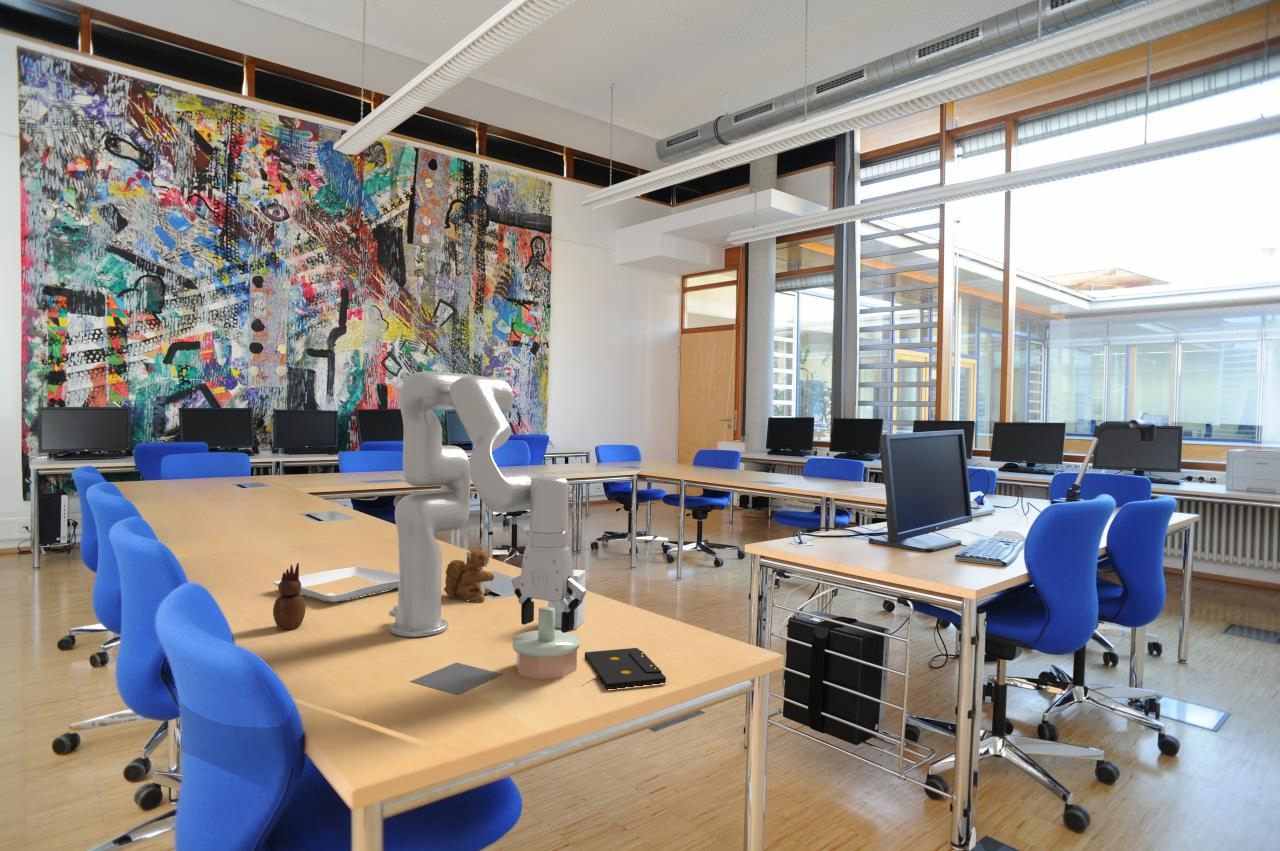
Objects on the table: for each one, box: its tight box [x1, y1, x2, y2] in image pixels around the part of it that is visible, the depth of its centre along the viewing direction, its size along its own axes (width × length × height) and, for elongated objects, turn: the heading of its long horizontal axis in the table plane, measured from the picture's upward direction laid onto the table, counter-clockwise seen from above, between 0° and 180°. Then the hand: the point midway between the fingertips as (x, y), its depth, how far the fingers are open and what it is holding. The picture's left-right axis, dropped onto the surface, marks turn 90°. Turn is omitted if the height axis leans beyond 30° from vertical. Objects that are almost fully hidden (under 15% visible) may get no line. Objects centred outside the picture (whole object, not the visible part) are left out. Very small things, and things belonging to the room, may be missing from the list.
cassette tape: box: [584, 647, 667, 691], centre depth 140 cm, size 18×12×2 cm, turn 18°
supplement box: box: [547, 569, 587, 630], centre depth 171 cm, size 7×7×13 cm
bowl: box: [516, 649, 578, 680], centre depth 139 cm, size 11×11×5 cm
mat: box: [409, 662, 504, 696], centre depth 133 cm, size 12×12×1 cm
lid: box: [512, 606, 581, 657], centre depth 139 cm, size 13×13×7 cm
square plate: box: [272, 566, 399, 603], centre depth 199 cm, size 27×27×4 cm
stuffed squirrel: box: [443, 548, 495, 603], centre depth 195 cm, size 10×14×13 cm
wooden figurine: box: [272, 562, 307, 630], centre depth 164 cm, size 7×6×15 cm
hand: (547, 626), depth 139 cm, fingers open, 9 cm apart
